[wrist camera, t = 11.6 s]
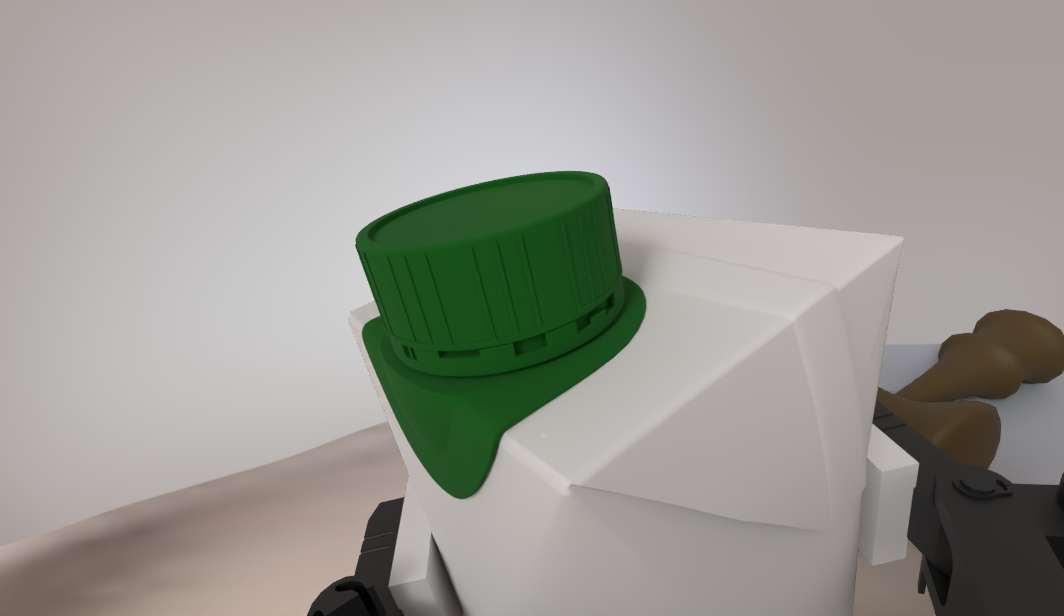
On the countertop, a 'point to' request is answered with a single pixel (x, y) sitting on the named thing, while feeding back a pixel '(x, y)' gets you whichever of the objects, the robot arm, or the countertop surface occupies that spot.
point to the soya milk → (628, 398)
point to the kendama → (978, 382)
